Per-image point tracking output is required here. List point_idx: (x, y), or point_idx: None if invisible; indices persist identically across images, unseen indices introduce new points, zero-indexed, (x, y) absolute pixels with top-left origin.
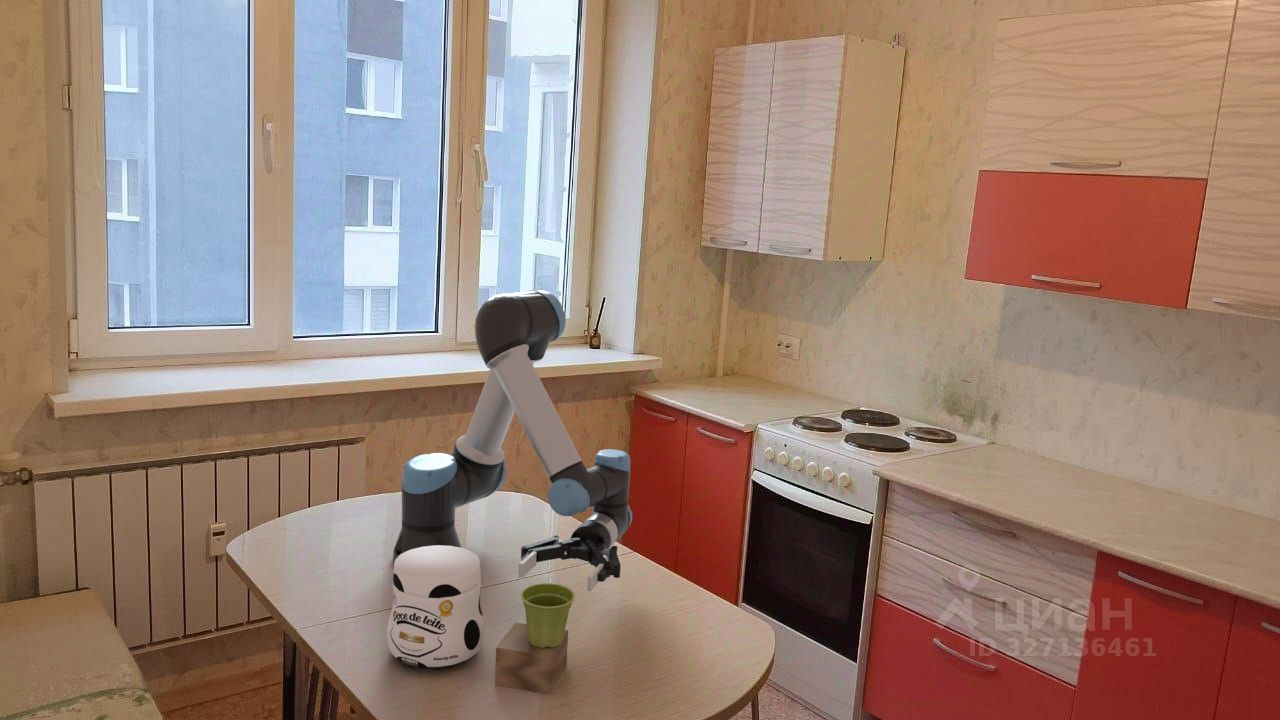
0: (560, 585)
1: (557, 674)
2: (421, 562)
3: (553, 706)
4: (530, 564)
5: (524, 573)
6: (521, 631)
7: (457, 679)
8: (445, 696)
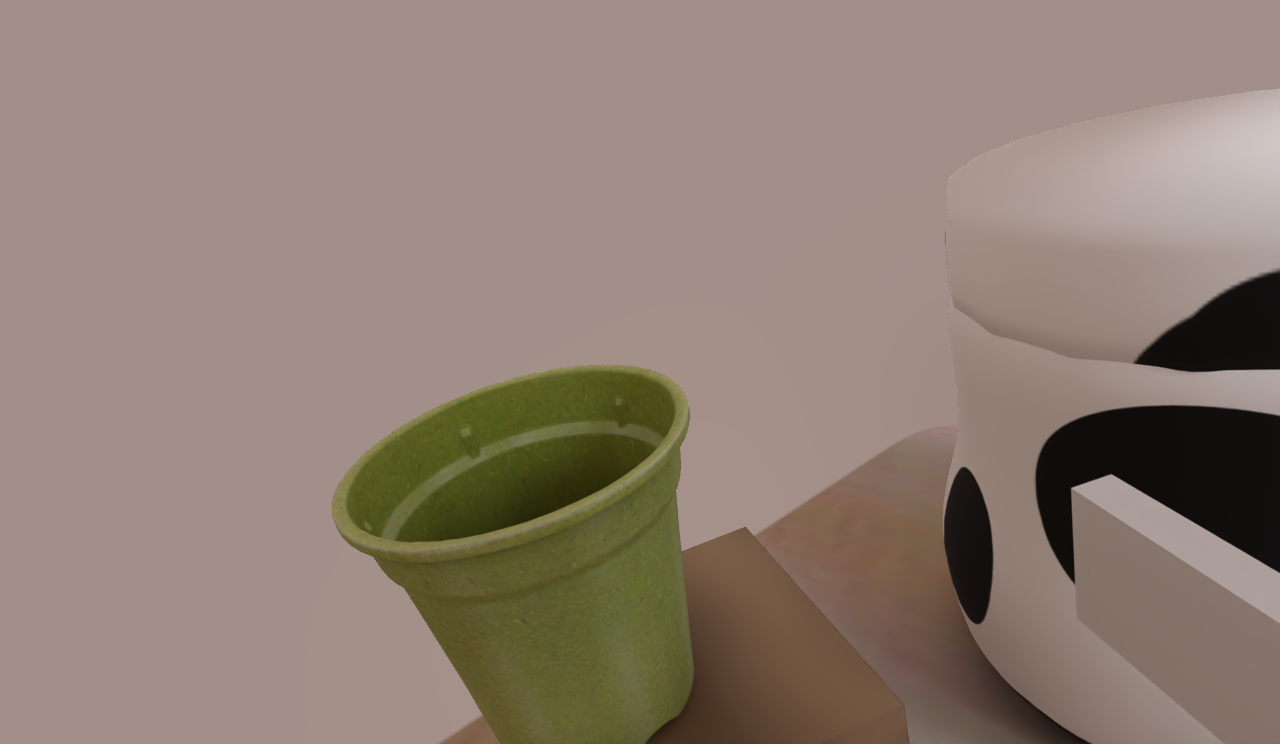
0: (498, 530)
1: None
2: (1247, 119)
3: (487, 729)
4: (1275, 716)
5: (1119, 632)
6: (776, 665)
7: (917, 606)
8: (842, 542)
